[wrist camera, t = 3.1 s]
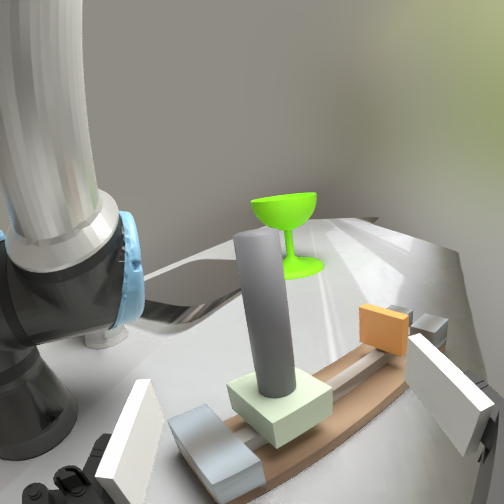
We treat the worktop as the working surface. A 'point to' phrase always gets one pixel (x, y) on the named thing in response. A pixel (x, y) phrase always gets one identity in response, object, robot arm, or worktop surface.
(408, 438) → the worktop surface
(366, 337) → the orange block
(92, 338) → the glass holder
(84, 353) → the worktop surface
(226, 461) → the rail base
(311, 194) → the wineglass
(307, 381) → the carriage
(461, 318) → the worktop surface
